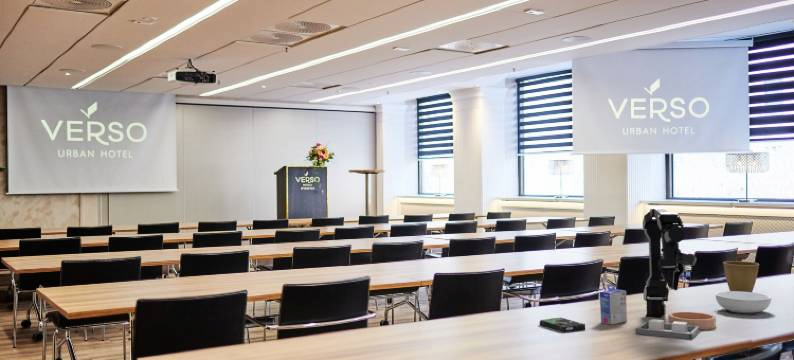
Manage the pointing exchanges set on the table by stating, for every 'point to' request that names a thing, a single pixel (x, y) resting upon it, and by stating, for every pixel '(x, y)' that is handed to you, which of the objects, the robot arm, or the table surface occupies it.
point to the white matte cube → (656, 324)
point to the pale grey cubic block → (679, 327)
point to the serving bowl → (743, 301)
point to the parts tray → (691, 335)
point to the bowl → (693, 319)
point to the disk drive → (562, 325)
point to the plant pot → (741, 275)
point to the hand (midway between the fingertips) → (673, 289)
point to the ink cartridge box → (613, 306)
